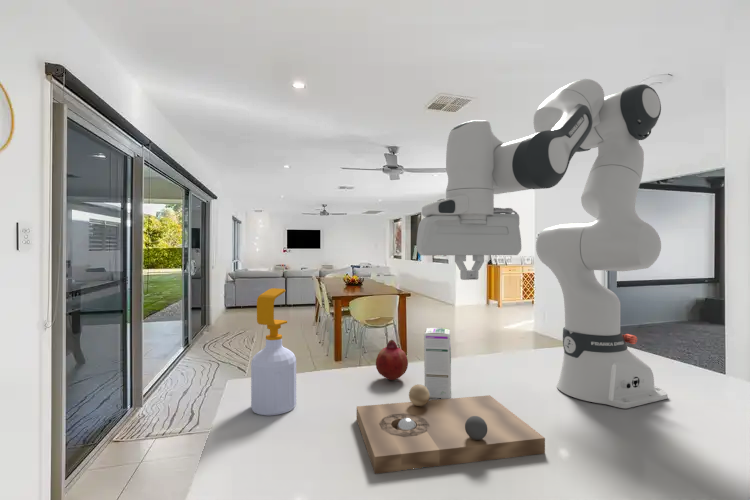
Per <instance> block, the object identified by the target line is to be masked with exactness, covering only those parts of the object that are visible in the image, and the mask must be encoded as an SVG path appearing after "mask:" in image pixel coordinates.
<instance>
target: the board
mask: <svg viewBox="0 0 750 500" xmlns="http://www.w3.org/2000/svg"><path fill="white" fill-rule="evenodd" d="M472 416H478V417H481V418H482V419H483V420H484V421H485V422H486V424H487V434H486V436H485V437H484V438H483V439H480V440H474V439H472V438H470V437H469V436H468V434H467V433H466V430H465V423H466V421H467V419H468V418H470V417H472ZM403 418H410V419H412V420H413V421H414V422H415V423H416V425H417V427H416V428H415V429H413V430H408V431H402V430H397V425H398V422H399V421H400V420H401V419H403ZM356 422H357V425H358V427H359V430H360V434H361V436H362V437H361V438H362V439H363V442H364V446H365V448H366V452H367V455H368V458H369V460H370V463H371V466H372V469H373V472H374V474H375V475H376V474H383V473H384V474H385V473H386V474H387V473H393V472H401V470H403V471H408V470H407V469H411V470H416V469H415V468H419V469H423V468H422V467H428V468H434V466H436V467H443V466H451V465H458V464H459V465H460V464H468V463H475V462H476V463H477V462H485V461H494V460H500V459H509V458H519V457H526V456H535V455H541V454H546V437H544V436H543V435H542V434H541V433H539V432H538V430H537V431H536V429H534V428H533V427H532V426H530V425H529V424H528V423H527V422H525V421H524V420H523V419H521V418H520V417H518V416H517V415H516V414H515V413H513V412H512V411H511V410H510V409H509V408H507V407H506V406H504V405H503V404H502V403H500V402H499V401H498V400H497V399H496V398H494V397H493V396H491V395H489V394H488V395H477V396H468V397H467V396H465V397H453V398H452V397H451V398H450V399H429V401H428V402H427V404H425V405H424V406H416V405H414V404H413V403H412V402H411V401H407V402H405V401H404V402H395V403H382V404H370V405H359V406H357V405H356ZM413 468H414V469H413Z"/></svg>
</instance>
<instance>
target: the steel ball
mask: <svg viewBox="0 0 750 500" xmlns="http://www.w3.org/2000/svg"><path fill="white" fill-rule="evenodd" d="M416 427H417V425H416V423H415V422H414V421H413V420H412V419H410V418H403V419H401V420H400V421H399V422H398V425H397V430H402V431H408V430H413V429H415V428H416Z"/></svg>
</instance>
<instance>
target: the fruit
mask: <svg viewBox="0 0 750 500" xmlns="http://www.w3.org/2000/svg"><path fill="white" fill-rule="evenodd" d="M408 361H409V360H408V357H407V354H406V352H405V351H404V350H402V349H401V348H400V347H398V346H397V343H396V342H395V340H394V339H391V340H388V342H387V345H386V346H385V347H383V348H382V349H381V350H379V352H378V354H377V356H376V359H375V367H376V370H377V372H378V374H379V375H381V376H382V377H383V378H385V379H387V380H389V381H396V380H398V379H400V378H401V377H402V376H403V375H405V373H406V372H407V370H408V367H409V362H408Z"/></svg>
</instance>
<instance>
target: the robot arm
mask: <svg viewBox="0 0 750 500" xmlns="http://www.w3.org/2000/svg"><path fill="white" fill-rule="evenodd" d="M661 103H662V102H661V99H660V96H659V95H658V93H657V92H656V90H655V89H654V88H653V87H652V86H650V85H648V84H643V83H642V84H637V85H632V86H628V87H626V88H624V90H621V91H618V92H615V93H611V94H610V95H607V96H605V91H604V89H603V87H602V85H600V84H599V83H598V82H597V81H595V80H593V79H590V78H582V79H578V80H574V81H573V82H570V83H568V84H566V85H564V86H563V87H560V88H559V89H557V90H556V91H554V93H552V94H550V95H549V96H548V97H547V98H546V99H544V101H542V103H541V104H540V105H539V106H538V108H537V109H536V110H535V113H534V115H533V128H534V132H535V133H534V134H530V135H529V136H525V137H522V138H518V139H516V140H512V141H509V142H506V143H505V142H503V141H502V140H500V139H499V138H498V137H497V136H496V135H495V134H494V132H493V131H492V125H491V122H490V121H489V120H486V119H474V120H470V121H465V122H462V123H460V124H457V125H456V126H454V127H453V128H452V129H450V132H449V134H448V137H447V143H446V153H445V154H446V155H445V157H446V158H445V170H446V175H447V184H446V185H447V186H446V190H445V198H440V199H438V200H436V201H433V202H430V203H427V204H425V205H424V206H422V208H421V215H422V217H423V218H422V219H421V220H420V221H419V223H418V228H417V234H416V251H417V253H418V254H419V255H420V256H454V262H455V264H456V266H457V267H458V269H459V271H460V273H459V275H460V280H462V281H463V280H464V281H470V280H471V281H472V280H473V281H475V280H477V281H478V280H479V271H480V270H481V268H482V266H483V264H484V263H485V256H518V255H519V254H520V253H521V251H522V239H521V238H522V236H521V230H520V215H519V213H518V212H517V211H516V210H514V209H513V208H512V207H505V208H503V207H502V208H501V207H494V206H495V204H494V203H495V201H494V199H495V197H494V196H495V195H499V194H505V193H506V194H507V193H514V192H521V191H527V190H541V189H545V190H546V189H551V188H553V187H555V186H556V185H558V184H559V183H560V182H561V180H562V179H563V178H564V176H565V174H566V173H567V170H568V168H569V165H570V161H571V160H572V158H573V157H574V155H575V154H576V153H581V152H588V151H591V149H596V148H597V149H598V150H597V151H598V152H597V153H598V154H597V157H596V158H595V160H594V161H593V164H592V166H591V168H590V170H589V173H588V177H587V180H586V183H585V185H584V189H583V191H582V195H581V197H580V198H581V199H580V200H581V202H580V203H581V206H582V208H583V209H584V211H585V212H586V213H587V214H589V215H590V216H591V217H594V218H595V220H594V221H590V222H573V223H561V224H557V225H556V224H555V225H552V226H548V227H546V228H544V229H542V230H541V231H540V233H539V234H538V237H537V239H536V242H535V251H536V254H537V257H538V259H539V260H540V261H541V263H542V264H544V265H545V266H546V267H548V269H549V270H551V272H552V273H553V275H554V276H555V278H556V279H557V282H558V283H559V285H560V288H561V292H562V294H563V295H562V296H563V301H564V302H563V303H564V327H563V328H562V346H563V358H562V362H561V363H562V365H561V369H560V376H559V378H558V381H557V385H556V388H557V389H558V390H559V391H560V392H562V393H564V394H565V395H567V396H569V397H573V398H575V399H578V400H581V401H584V402H592V403H596V404H603V405H608V406H612V407H615V408H620V409H630V408H634V407H639V406H642V405H646V404H650V403H654V402H660V401H663V400H667V399H668V398H669V395H668V393H667V392H666V391H665V390H663V389H662V388H660V387H658V386H656V385H655V377H654V372H653V370H652V369H651V367H650V366H649V365H648V364H647V363H645V362H644V361H643V360H641V359H640V358H639V357H638V356H636V355H635V353H633V352H632V351H630V350H629V349H628V345H627V343H629V344H631V345H636V344H637V342H638V340H639V339H638V337H637V336H636V335H633V334H629V333H625V334H623V333H622V332H621V300H620V299H619V297H618V295H617V294H616V293H615V292H613V290H611V289H609V288H608V287H606V286H604V285H602V284H601V283H600V281H598V279H597V277H596V275H595V271H604V272H605V271H608V272H630V271H638V270H644V269H649V268H650V267H652V266H653V265H654V264H655V262H656V261H657V260H658V258H659V256H660V254H661V250H662V241H661V237H660V236H659V233H658V231H657V230H656V229H655V228H654V227H653V226H652V225H651V224H649V223H648V222H646V221H644V220H643V219H641V218H640V217H639V215H638V214H637V212H636V203H637V196H638V193H639V189H640V185H641V181H642V177H643V172H644V161H645V157H644V156H645V155H644V154H645V153H644V149H643V147H642V146H641V144H640V141H644V140H646V139H647V138H648V137H649V136H650V135H651V133H652V129H653V128H654V127H655V126H656V125H657V123H658V121H659V118H660V116H661V110H662V105H661ZM467 256H472V261H473V262H474V263H473V265H472V267H471V269H467V266H466V265H465V262H467Z"/></svg>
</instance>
